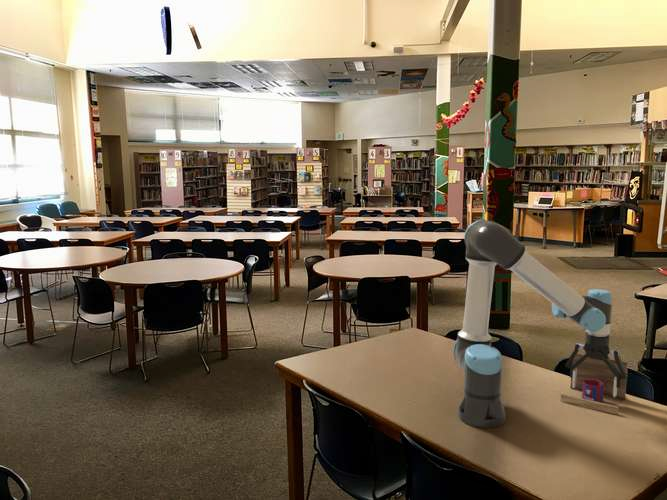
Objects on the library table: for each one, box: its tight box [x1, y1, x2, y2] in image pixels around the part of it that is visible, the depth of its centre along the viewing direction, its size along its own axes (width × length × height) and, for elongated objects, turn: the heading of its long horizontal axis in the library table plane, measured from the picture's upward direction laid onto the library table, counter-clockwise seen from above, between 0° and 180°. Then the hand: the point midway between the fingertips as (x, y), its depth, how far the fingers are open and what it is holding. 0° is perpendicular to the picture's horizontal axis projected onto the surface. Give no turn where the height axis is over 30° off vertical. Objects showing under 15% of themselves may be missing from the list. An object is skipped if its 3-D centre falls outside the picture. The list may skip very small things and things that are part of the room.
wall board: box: [570, 351, 629, 401], centre depth 191 cm, size 3×18×14 cm, turn 53°
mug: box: [581, 379, 604, 403], centre depth 186 cm, size 7×10×7 cm
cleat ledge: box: [560, 393, 619, 416], centre depth 180 cm, size 1×18×2 cm, turn 53°
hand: (594, 391), depth 187 cm, fingers open, 13 cm apart
